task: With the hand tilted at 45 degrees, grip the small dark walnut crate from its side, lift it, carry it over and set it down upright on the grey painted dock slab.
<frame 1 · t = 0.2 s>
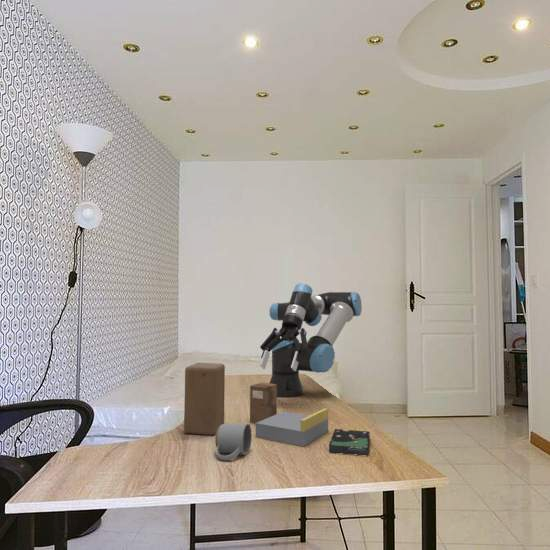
hand: (277, 368, 158), 16 cm above the table, tool tilted 35°, fingers open, 13 cm apart
disk drive: (350, 448, 121), on the table
crate: (263, 421, 145), on the table
wooden block: (204, 431, 134), on the table
ceramic mug: (232, 455, 114), on the table
dock: (292, 434, 131), on the table
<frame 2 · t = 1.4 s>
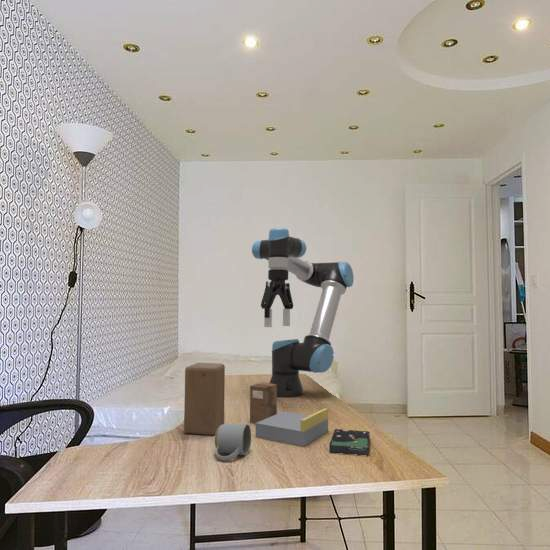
hand: (277, 326, 161), 30 cm above the table, tool pointing down, fingers open, 13 cm apart
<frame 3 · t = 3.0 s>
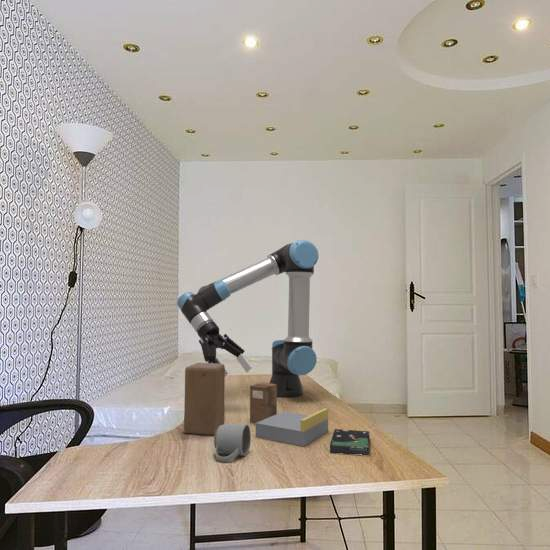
hand: (238, 372, 151), 15 cm above the table, tool tilted 45°, fingers open, 13 cm apart
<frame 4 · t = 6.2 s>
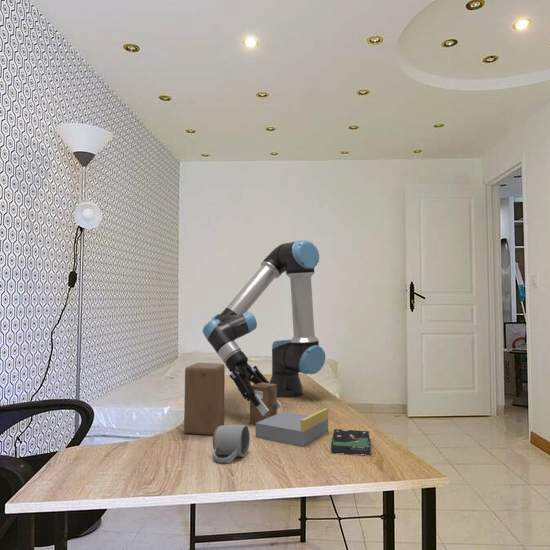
hand: (272, 410, 143), 4 cm above the table, tool tilted 45°, fingers closed on crate, 7 cm apart
crate: (263, 421, 144), on the table, touching gripper
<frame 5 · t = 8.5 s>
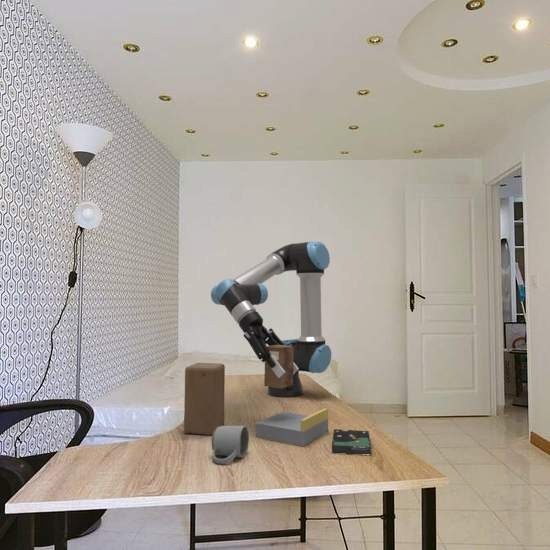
hand: (288, 373, 133), 18 cm above the table, tool tilted 45°, fingers closed on crate, 7 cm apart
crate: (278, 385, 134), point 14 cm above the table, touching gripper
when the fingers open (9 cm above the table, at t = 10.7 s): crate drops 1 cm, resting on dock.
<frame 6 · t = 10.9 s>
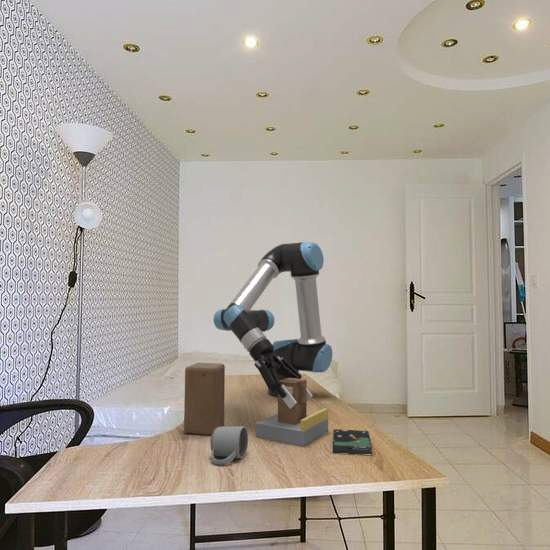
hand: (301, 402, 130), 10 cm above the table, tool tilted 45°, fingers open, 9 cm apart
crate: (292, 420, 131), point 4 cm above the table, touching dock
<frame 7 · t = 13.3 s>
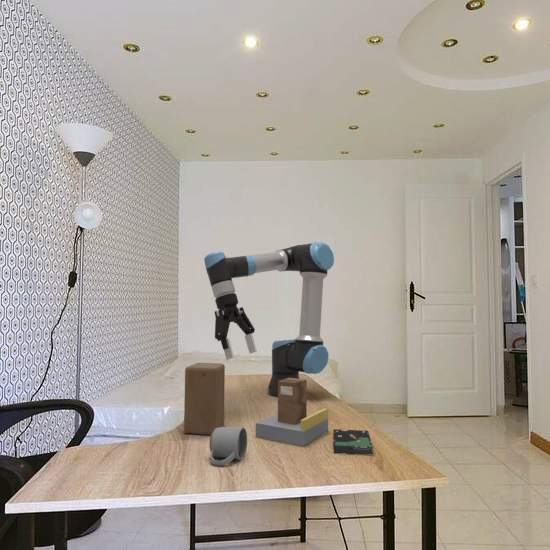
hand: (242, 355, 147), 22 cm above the table, tool tilted 20°, fingers open, 13 cm apart
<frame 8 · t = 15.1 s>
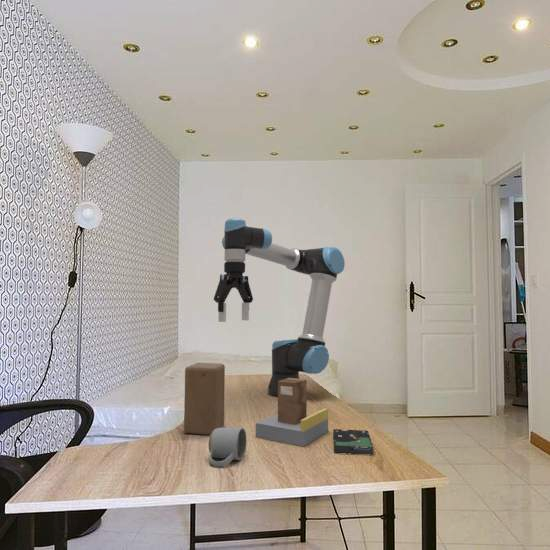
hand: (234, 321, 155), 33 cm above the table, tool pointing down, fingers open, 13 cm apart
at the end: crate inside the target area on the dock (0.1 cm from its centre), point 4.0 cm above the dock's base; crate tilted 0°; the gripper is holding nothing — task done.
